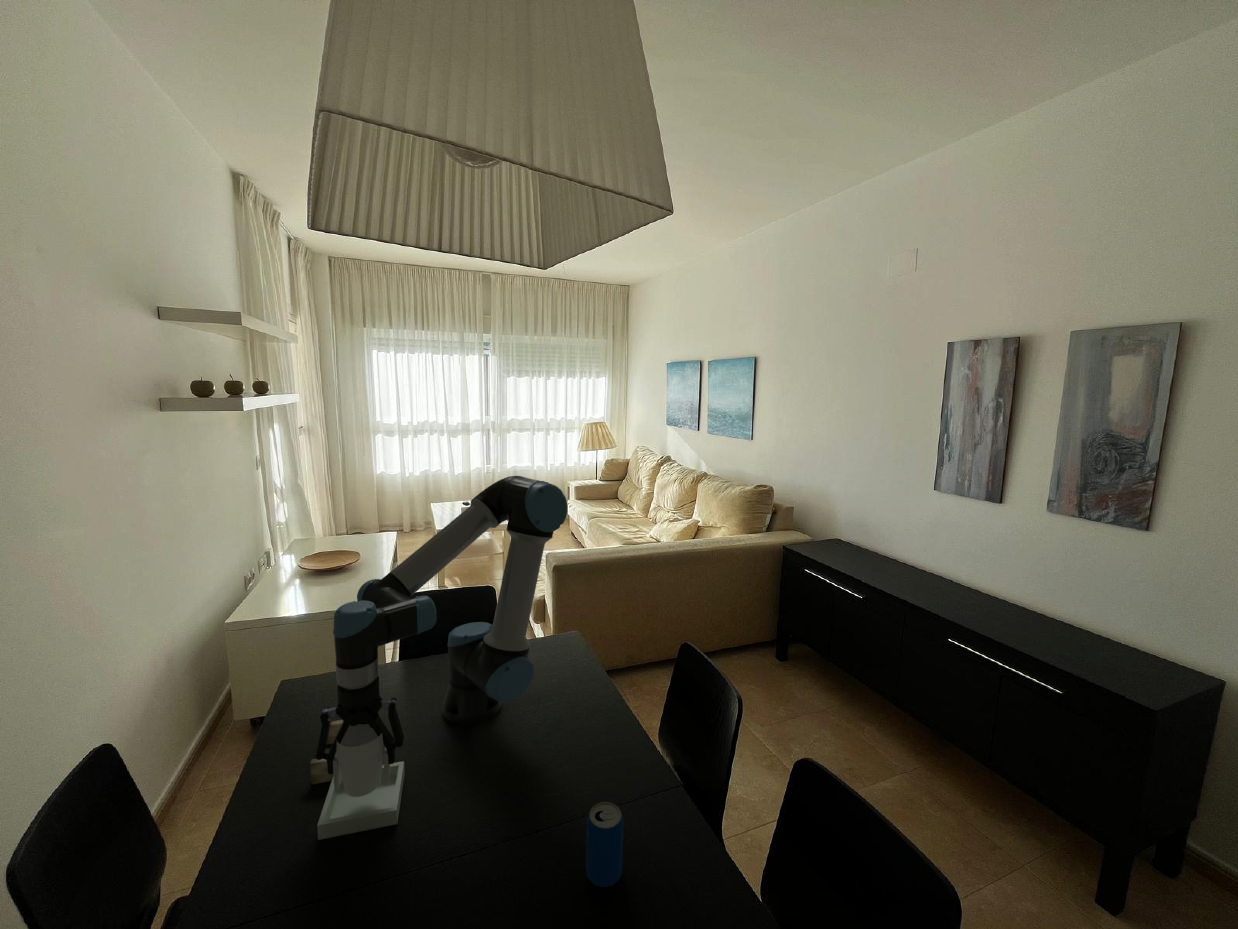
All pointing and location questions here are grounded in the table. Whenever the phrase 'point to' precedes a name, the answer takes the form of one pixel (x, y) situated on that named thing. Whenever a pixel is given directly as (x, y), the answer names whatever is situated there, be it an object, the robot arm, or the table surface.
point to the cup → (360, 760)
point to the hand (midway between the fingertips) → (363, 781)
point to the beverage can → (604, 844)
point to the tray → (362, 807)
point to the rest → (320, 766)
